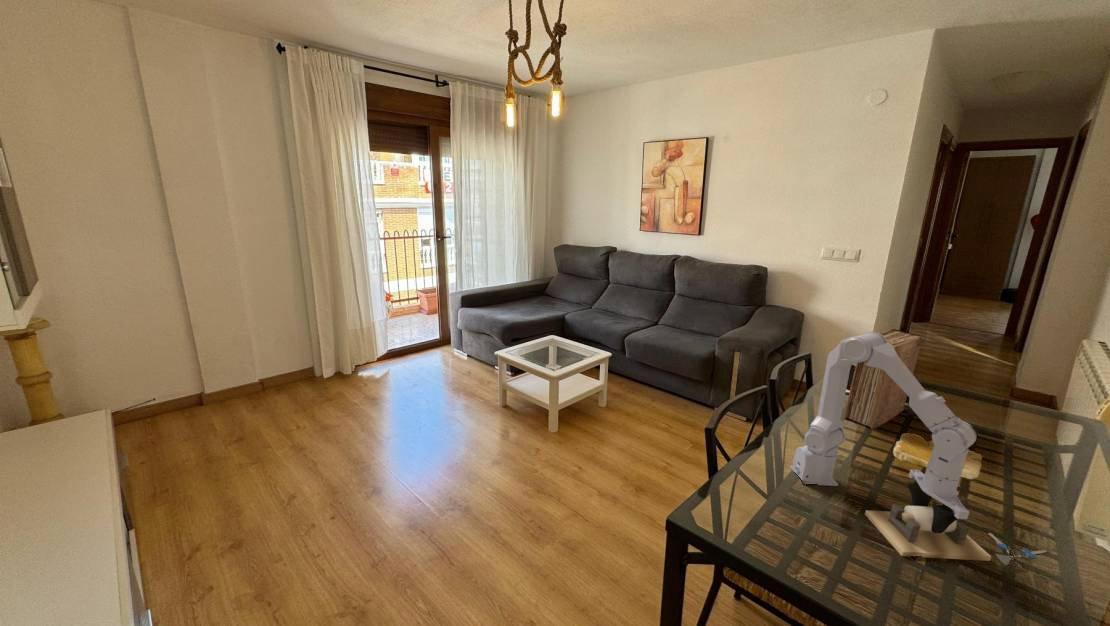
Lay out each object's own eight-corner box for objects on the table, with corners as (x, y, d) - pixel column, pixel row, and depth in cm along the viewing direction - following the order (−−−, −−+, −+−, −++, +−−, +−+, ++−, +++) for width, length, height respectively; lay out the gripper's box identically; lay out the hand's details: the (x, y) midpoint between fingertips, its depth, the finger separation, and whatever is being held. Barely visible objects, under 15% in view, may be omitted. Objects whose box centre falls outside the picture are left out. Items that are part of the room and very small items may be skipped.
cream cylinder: (910, 534, 101) (915, 516, 99) (894, 518, 106) (899, 500, 104) (959, 537, 101) (966, 518, 99) (941, 520, 106) (947, 502, 104)
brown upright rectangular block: (871, 430, 150) (892, 347, 142) (842, 418, 157) (861, 339, 149) (903, 412, 164) (923, 335, 155) (875, 401, 171) (893, 328, 163)
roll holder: (901, 555, 98) (907, 535, 96) (864, 514, 110) (869, 495, 109) (989, 560, 97) (997, 540, 96) (942, 518, 110) (948, 499, 108)
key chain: (1015, 573, 95) (1017, 570, 95) (969, 545, 102) (970, 542, 102) (1047, 553, 100) (1048, 550, 100) (1000, 528, 107) (1001, 525, 107)
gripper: (990, 495, 92) (972, 548, 96) (936, 454, 106) (921, 502, 110) (955, 493, 92) (938, 546, 96) (906, 453, 106) (892, 500, 110)
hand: (927, 522), depth 103 cm, fingers closed on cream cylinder, 5 cm apart
